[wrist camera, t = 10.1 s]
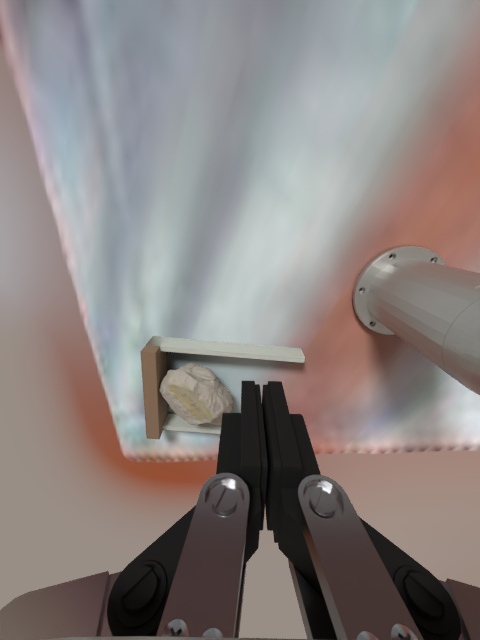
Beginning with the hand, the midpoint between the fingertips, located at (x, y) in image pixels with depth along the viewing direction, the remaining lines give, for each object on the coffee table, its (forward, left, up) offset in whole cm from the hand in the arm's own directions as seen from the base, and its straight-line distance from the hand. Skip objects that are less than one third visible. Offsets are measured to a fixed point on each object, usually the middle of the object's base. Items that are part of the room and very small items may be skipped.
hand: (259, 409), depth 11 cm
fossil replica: (+6, +18, -27) cm, 33 cm away
